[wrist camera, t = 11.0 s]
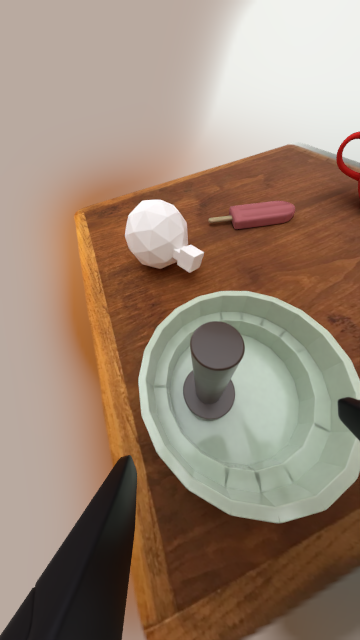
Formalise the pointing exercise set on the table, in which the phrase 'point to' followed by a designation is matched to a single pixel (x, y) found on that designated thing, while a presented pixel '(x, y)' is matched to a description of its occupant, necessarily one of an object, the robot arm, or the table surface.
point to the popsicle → (258, 214)
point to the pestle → (213, 370)
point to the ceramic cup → (340, 163)
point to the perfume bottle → (160, 236)
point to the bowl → (255, 410)
